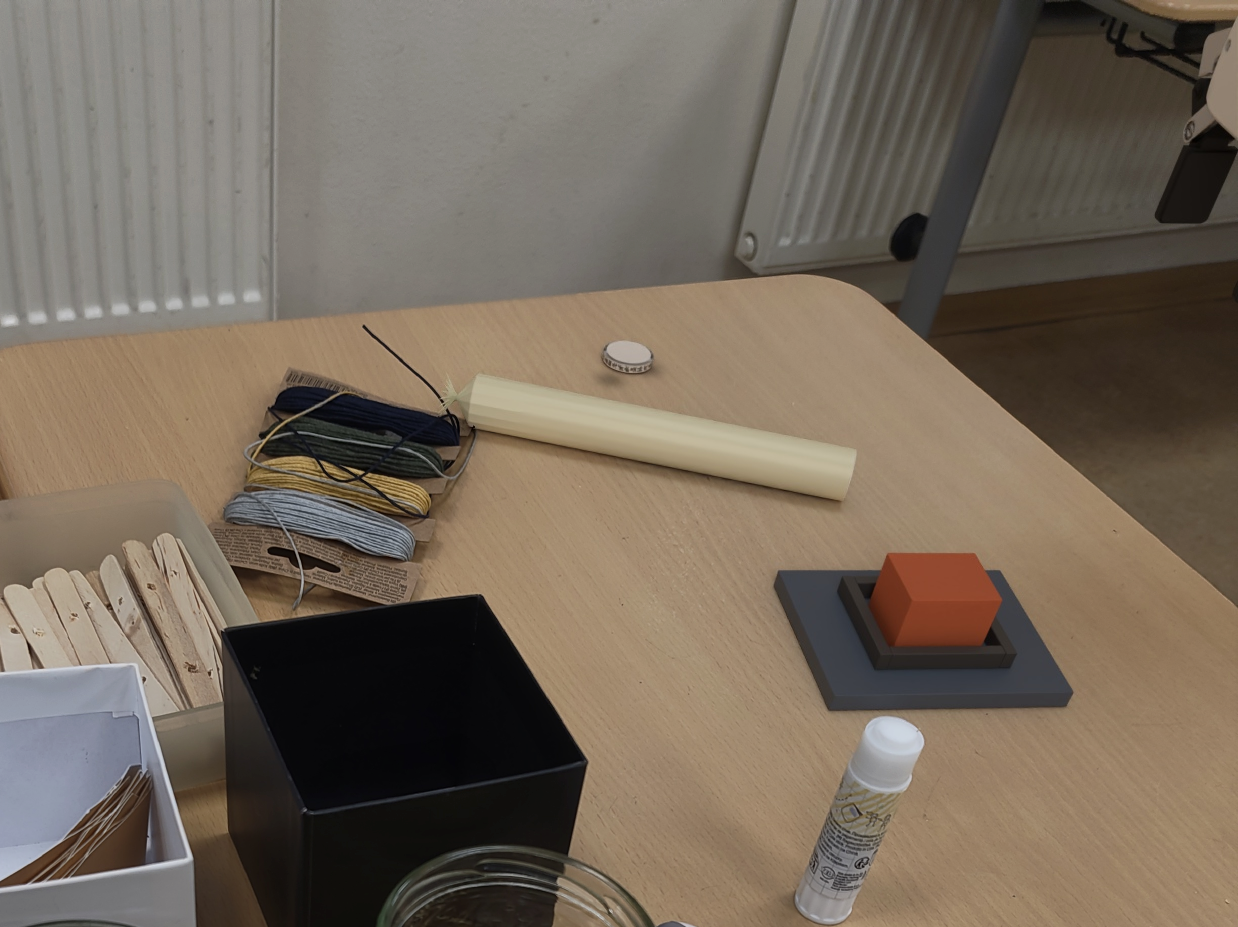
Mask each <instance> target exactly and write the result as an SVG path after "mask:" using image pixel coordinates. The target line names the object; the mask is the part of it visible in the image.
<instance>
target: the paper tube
mask: <svg viewBox="0 0 1238 927" xmlns="http://www.w3.org/2000/svg"><path fill="white" fill-rule="evenodd" d="M445 375H446V377H444V378H445V381H446V384H447V385H446V384H445V383H444V382H442V384H443V385H444V387H445V389H446V390H441V389H440V390H439V392H440V391H441V392H443V393H444V394H445V395H447V396H442V397H441V398H440V400H444V402H442V403H441V404H440V405H439V406H438V408H440V407H441V406H442V407H441V409H440V410H439V411H438V413H440V414H439V415H441V416H442V414H444V412H445V411H446V410H448V408H449V407H450V406H451V405H452V404H453V403H454V402H455V401H456V402H457V404H458V405H459V408H460V410H461V412H462V415H463V417H464V419H465V422H466V424H467V423H471V424H473V425H474V426H475V427H476V428H474V429H476V430H479V431H480V430H481V431H486V432H490V433H491V432H492V433H496V434H501V435H505V436H512V437H517V438H522V439H527V440H531V441H537V442H542V443H546V444H552V445H557V446H562V447H566V448H571V449H576V450H581V451H582V450H583V451H587V452H591V453H592V452H593V453H598V454H602V455H607V456H612V457H616V458H617V457H618V458H623V459H628V460H633V461H638V462H643V463H648V464H653V465H658V466H663V467H667V468H674V469H679V470H683V471H688V472H693V473H699V474H704V475H708V476H713V477H718V478H723V479H729V480H733V481H739V482H743V483H748V484H753V485H758V486H763V487H768V488H773V489H779V490H785V491H789V492H793V493H799V494H804V495H807V496H808V495H809V496H814V497H820V498H824V499H828V500H833V501H838V502H839V501H840V502H843V501H844V500H845V498H846V496H847V494H848V490H849V487H850V484H851V481H852V478H853V474H854V470H855V466H856V461H857V456H858V455H857V454H858V450H857V449H856V448H853V447H850V446H849V447H848V446H843V445H840V444H839V445H838V444H834V443H828V442H824V441H818V440H813V439H808V438H803V437H799V436H793V435H788V434H783V433H779V432H773V431H768V430H763V429H758V428H753V427H749V426H744V425H739V424H733V423H728V422H723V421H718V420H713V419H709V418H703V417H699V416H694V415H688V414H684V413H679V412H674V411H668V410H664V409H658V408H653V407H649V406H643V405H640V404H639V405H638V404H634V403H630V402H624V401H618V400H613V399H608V398H604V397H599V396H594V395H590V394H589V395H588V394H584V393H580V392H574V391H569V390H564V389H559V388H555V387H549V386H545V385H540V384H534V383H530V382H524V381H521V380H514V379H510V378H505V377H499V376H496V375H491V374H486V373H482V372H478V373H477V374H476V375H474V377H473V378H472V379H471V380H470V381H469V382H468V383H467V384H466V385H465V386H464V387H463V388H462V389H461V391H459V392H458V393H457V392H456V390H455V388H454V385H453V383H452V381H451V378H450V376H449V374H448V372H446V373H445Z"/></svg>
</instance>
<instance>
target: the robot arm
mask: <svg viewBox="0 0 1238 927" xmlns="http://www.w3.org/2000/svg"><path fill="white" fill-rule="evenodd" d="M1202 48H1203V49H1202V53H1201V61H1200V65H1199V71H1198V79H1197V80H1196V82H1195V84H1194V85H1193V87H1192V90H1191V116H1190V118H1189V119H1188V120H1187V121H1186V123H1185V124H1184V127H1183V131H1182V141H1183V142H1184V143H1185V144H1183V145H1182V147H1181V150H1180V153H1179V154H1178V157H1177V158H1176V161H1175V164H1174V166H1173V170H1172V172H1171V174H1170V175H1169V178H1168V181H1167V183H1166V185H1165V187H1164V190H1163V193H1162V194H1161V197H1160V200H1159V202H1158V204H1157V207H1156V209H1155V212H1154V219H1155V220H1156V221H1157V222H1158V223H1160V224H1170V225H1171V224H1172V225H1173V224H1175V225H1177V224H1178V225H1179V224H1184V225H1201V224H1203V223H1205V222H1207V220H1208V219H1209V218H1210V215H1211V213H1212V211H1213V209H1214V207H1215V204H1216V202H1217V200H1218V197H1219V196H1220V194H1221V191H1222V188H1223V186H1224V184H1225V182H1226V180H1227V177H1229V176H1228V175H1229V173H1230V171H1231V169H1232V167H1233V165H1234V163H1235V160H1236V157H1237V155H1238V147H1237V146H1236V145H1232V144H1233V143H1235V141H1237V142H1238V15H1237V16H1236V18H1235V20H1234V22H1233V25H1232V26H1231V27H1228V28H1224V29H1221V30H1218V31H1215V32H1212V33H1210V34H1208V36H1207V37H1206V39H1205V41H1204V44H1203V47H1202ZM1231 298H1232V299H1233V300H1234V301H1235V302H1236V303H1237V304H1238V280H1237V281H1236V283H1235V286H1234V287H1233V289H1232V293H1231Z"/></svg>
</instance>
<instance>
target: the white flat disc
mask: <svg viewBox="0 0 1238 927" xmlns="http://www.w3.org/2000/svg"><path fill="white" fill-rule="evenodd" d="M654 356H655V355H654V352H653V351H652V350H651V348H649V347H648V346H646V345H644V344H642V343H639V342H636V341H633V340H626V339H625V340H624V339H619V340H613V341H610V342H608V343H606V344H605V345H604V346H603V349H602V356H601V357H602V358H601V359H602V361H603V362H604V363H605V365H607V366H608V367H609V368H611V369H613V370H615V371H619V372H622V373H627V374H638V373H645V372H647V371H649V370H650V369H651V368H652V366H653V363H654Z"/></svg>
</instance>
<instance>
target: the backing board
mask: <svg viewBox="0 0 1238 927" xmlns="http://www.w3.org/2000/svg"><path fill="white" fill-rule="evenodd" d="M984 570H985V571H986V573H987V575H988V576H989V578H990V580H991V581H992V583H993V585H994V586H995V588H996V590H997V591H998V593H999V595H1000V597H1001V598H1002V602H1001V604H1000V607H999V609H998V611H997V613H996V615H995V618H994V620H993V622H992V624H991V626H990V629H989V631H988V633H987V635H986V637H985V640H984V642H983V644H982V646H911V647H889V646H888V644H887V642H886V640H885V638H884V636H883V634H882V632H881V630H880V628H879V626H878V624H877V622H876V620H875V618H874V616H873V614H872V612H871V610H870V608H869V606H868V604H869V601H870V599H871V596H872V593H873V591H874V588H875V585H876V582H877V580H878V577H879V574H880V572H881V569H778V570H777V573H776V576H775V580H774V582H773V587H774V588H775V591H776V593H777V594H776V595H777V596H778V598H779V600H780V602H781V605H782V607H783V609H784V612H785V614H786V617H787V619H788V621H789V623H790V625H791V627H792V630H793V632H794V635H795V637H796V639H797V641H798V643H799V646H800V648H801V650H802V652H803V655H804V657H805V659H806V661H807V664H808V666H809V669H810V671H811V673H812V675H813V677H814V680H815V682H816V684H817V686H818V688H819V691H820V694H821V696H822V698H823V700H824V702H825V705H826V707H827V709H828V711H881V710H882V711H883V710H939V709H940V710H944V709H945V710H946V709H947V710H948V709H950V710H951V709H999V708H1000V709H1001V708H1004V709H1005V708H1006V709H1007V708H1064V707H1067V706H1068V704H1069V702H1070V700H1071V699H1072V696H1073V695H1074V693H1075V692H1074V689H1073V688H1072V686H1071V685H1070V683H1069V682H1068V680H1067V678H1066V677H1065V675H1064V673H1063V672H1062V670H1061V668H1060V666H1059V665H1058V663H1057V661H1056V660H1055V658H1054V656H1053V655H1052V654H1051V652H1050V650H1049V648H1048V647H1047V645H1046V644H1045V642H1044V640H1043V639H1042V637H1041V635H1040V634H1039V632H1038V630H1037V628H1036V627H1035V625H1034V624H1033V622H1032V620H1031V619H1030V617H1029V615H1028V614H1027V612H1026V611H1025V609H1024V606H1023V605H1022V604H1021V602H1020V600H1019V599H1018V597H1017V596H1016V594H1015V592H1014V590H1013V589H1012V587H1011V586H1010V584H1009V582H1008V580H1007V579H1006V577H1005V576H1004V574H1003V572H1002V570H1000V569H984Z"/></svg>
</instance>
